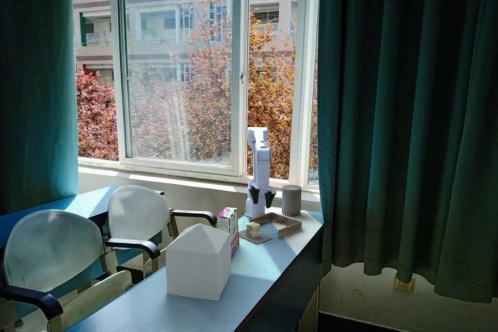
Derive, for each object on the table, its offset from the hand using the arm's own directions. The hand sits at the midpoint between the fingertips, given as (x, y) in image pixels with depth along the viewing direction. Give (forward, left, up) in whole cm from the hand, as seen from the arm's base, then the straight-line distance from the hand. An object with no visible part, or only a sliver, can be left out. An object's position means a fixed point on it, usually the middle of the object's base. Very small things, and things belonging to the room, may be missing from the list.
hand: (261, 205), depth 154 cm
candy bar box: (+9, -28, -11) cm, 31 cm away
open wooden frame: (+4, +5, -10) cm, 12 cm away
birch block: (+4, -9, -10) cm, 14 cm away
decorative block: (+19, -48, -11) cm, 53 cm away
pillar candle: (-4, +26, -11) cm, 28 cm away
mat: (+4, -10, -10) cm, 15 cm away
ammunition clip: (+1, -21, -11) cm, 24 cm away
